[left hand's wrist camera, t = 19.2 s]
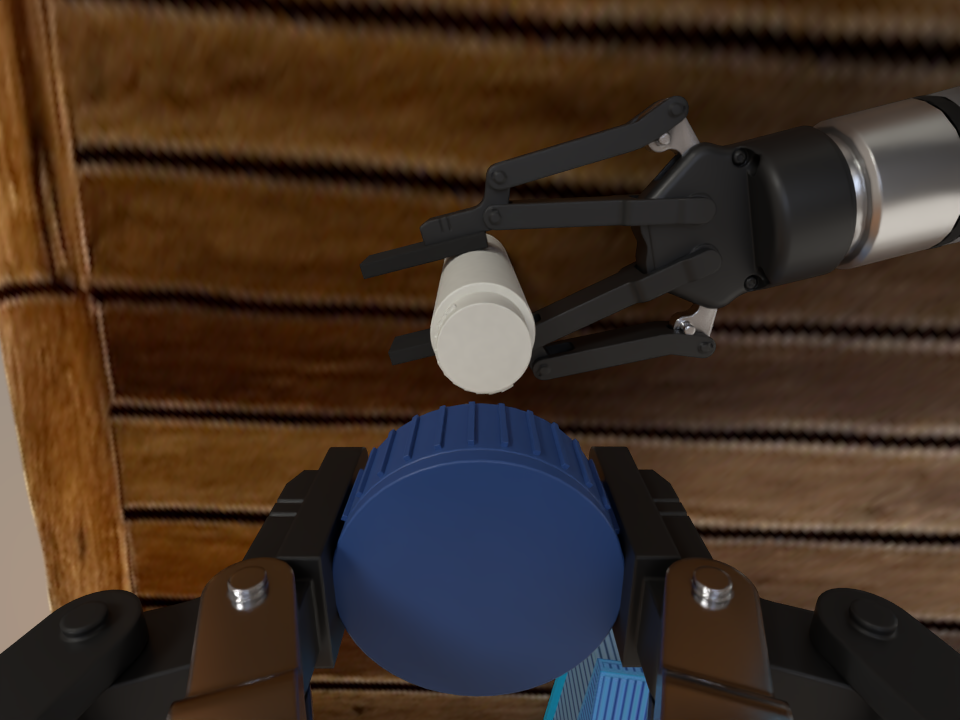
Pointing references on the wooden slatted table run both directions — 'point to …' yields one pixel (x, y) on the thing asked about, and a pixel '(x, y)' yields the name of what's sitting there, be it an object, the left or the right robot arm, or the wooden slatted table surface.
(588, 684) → the model building
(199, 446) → the wooden slatted table surface
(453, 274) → the white tube
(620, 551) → the lid
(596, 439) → the wooden slatted table surface
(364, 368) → the wooden slatted table surface
